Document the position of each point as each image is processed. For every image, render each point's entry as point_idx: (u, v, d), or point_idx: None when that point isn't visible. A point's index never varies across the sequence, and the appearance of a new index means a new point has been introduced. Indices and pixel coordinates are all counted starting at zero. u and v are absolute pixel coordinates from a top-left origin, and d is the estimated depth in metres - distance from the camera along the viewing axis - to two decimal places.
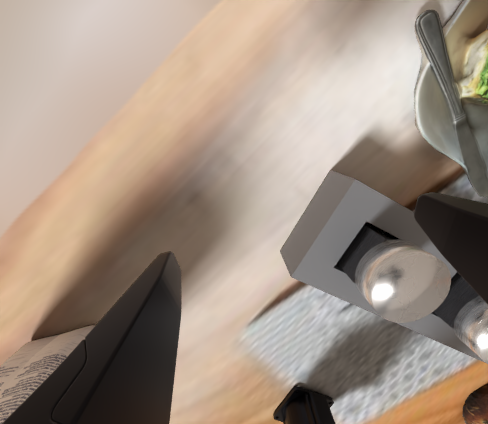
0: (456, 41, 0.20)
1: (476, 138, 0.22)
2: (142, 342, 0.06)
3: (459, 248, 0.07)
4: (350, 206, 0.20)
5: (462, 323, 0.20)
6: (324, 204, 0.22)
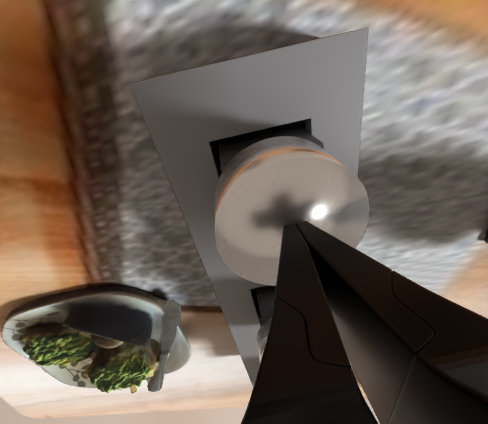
0: None
1: (158, 339, 0.25)
2: None
3: None
4: None
5: None
6: None
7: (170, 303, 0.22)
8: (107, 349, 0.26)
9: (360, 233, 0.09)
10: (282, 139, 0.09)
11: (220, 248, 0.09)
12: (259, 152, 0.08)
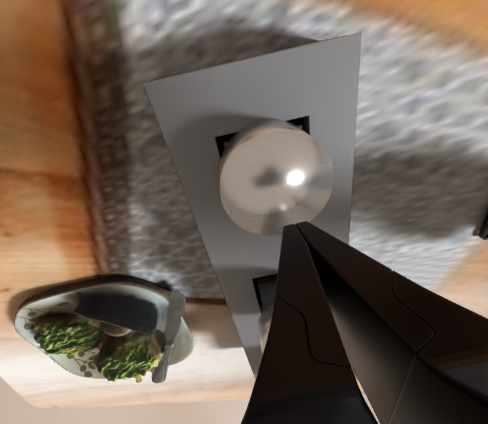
0: None
1: (163, 330, 0.26)
2: None
3: None
4: None
5: None
6: None
7: (175, 293, 0.23)
8: (114, 339, 0.27)
9: (328, 191, 0.12)
10: (269, 120, 0.12)
11: (223, 201, 0.12)
12: (252, 129, 0.11)
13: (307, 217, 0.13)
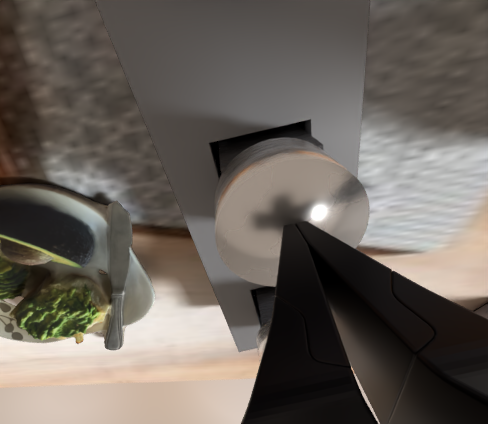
0: (94, 325, 0.24)
1: (106, 268, 0.19)
2: None
3: None
4: None
5: None
6: None
7: (113, 207, 0.17)
8: (41, 283, 0.20)
9: None
10: None
11: None
12: None
13: None
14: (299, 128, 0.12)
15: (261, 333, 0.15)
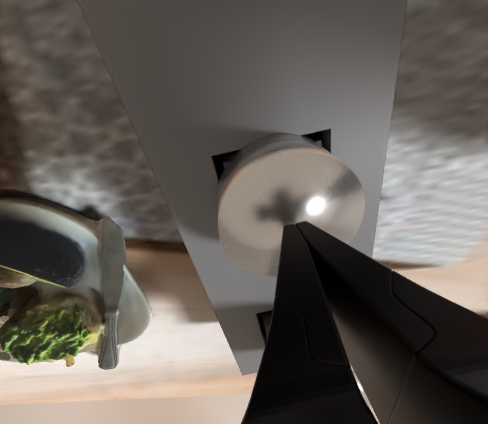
0: (87, 344, 0.22)
1: (98, 287, 0.18)
2: None
3: None
4: None
5: None
6: None
7: (104, 223, 0.15)
8: (28, 303, 0.18)
9: None
10: None
11: None
12: None
13: None
14: None
15: None
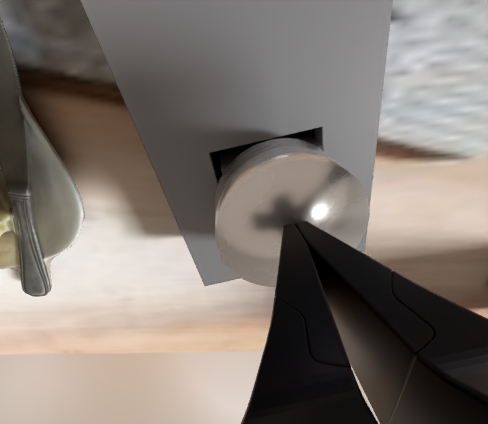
0: (2, 255, 0.16)
1: None
2: None
3: None
4: None
5: None
6: None
7: None
8: None
9: None
10: None
11: None
12: None
13: None
14: None
15: (219, 184, 0.10)
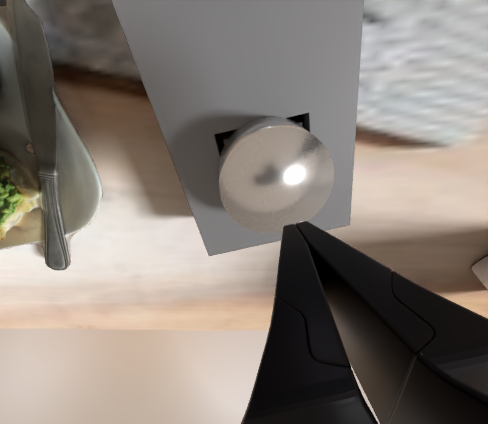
0: (28, 231, 0.19)
1: (25, 127, 0.14)
2: None
3: None
4: (234, 239, 0.16)
5: None
6: None
7: (15, 4, 0.11)
8: None
9: None
10: None
11: None
12: None
13: None
14: None
15: (222, 152, 0.12)
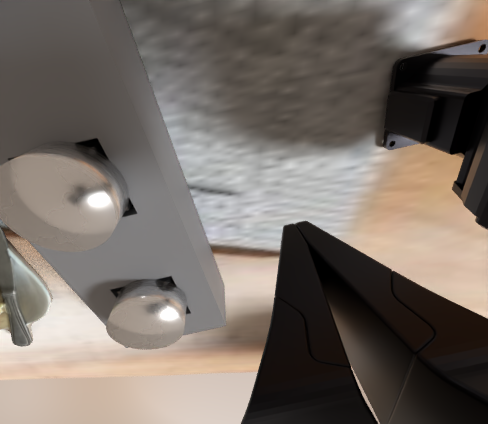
0: None
1: None
2: None
3: None
4: None
5: None
6: None
7: None
8: None
9: None
10: None
11: None
12: None
13: None
14: None
15: None
